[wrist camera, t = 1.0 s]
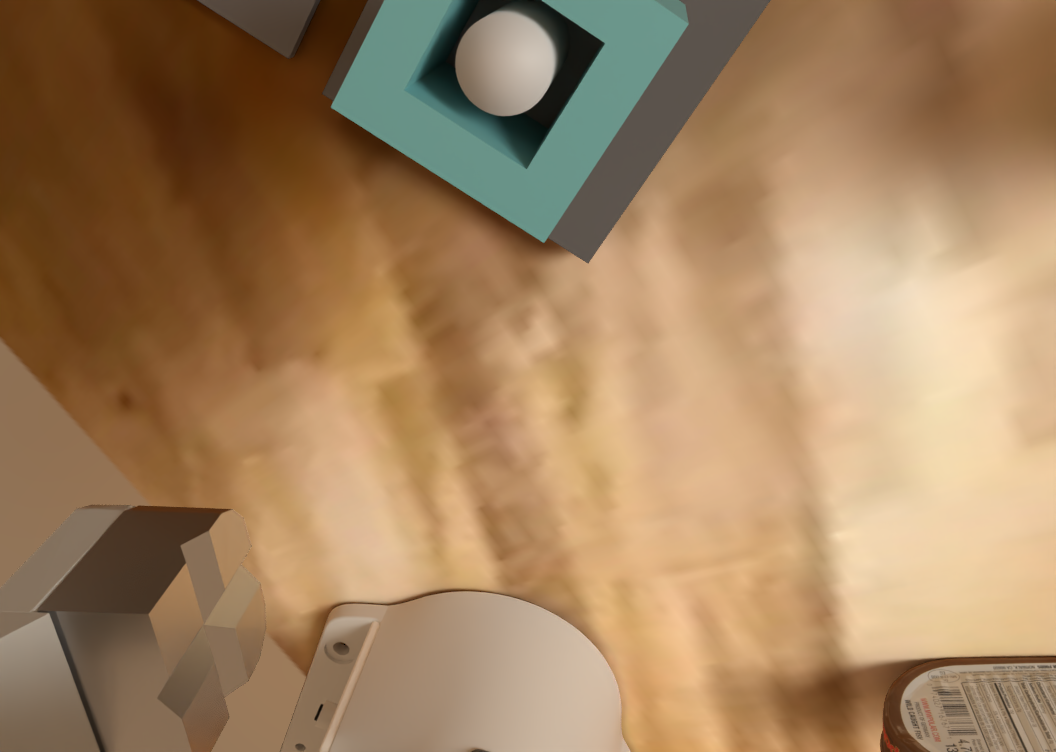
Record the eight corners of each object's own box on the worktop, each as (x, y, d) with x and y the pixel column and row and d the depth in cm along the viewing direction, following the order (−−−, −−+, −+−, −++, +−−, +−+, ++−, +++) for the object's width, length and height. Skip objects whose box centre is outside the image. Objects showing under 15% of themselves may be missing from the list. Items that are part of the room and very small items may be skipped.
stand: (591, 247, 40) (557, 400, 27) (338, 85, 38) (180, 169, 26) (811, -72, 34) (894, -60, 21) (520, -281, 32) (428, -398, 20)
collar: (562, 192, 30) (544, 243, 25) (382, 76, 29) (330, 107, 24) (685, 4, 27) (688, 23, 22) (489, -130, 26) (453, -138, 22)
